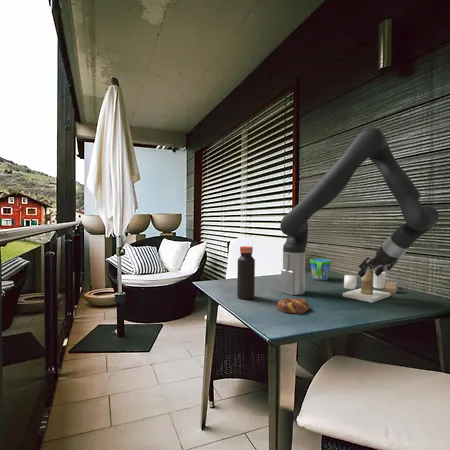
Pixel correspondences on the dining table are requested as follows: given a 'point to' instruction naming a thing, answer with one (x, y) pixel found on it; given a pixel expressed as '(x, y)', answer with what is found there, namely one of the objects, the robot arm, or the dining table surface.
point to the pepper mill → (367, 282)
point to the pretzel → (293, 305)
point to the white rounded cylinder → (350, 281)
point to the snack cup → (320, 269)
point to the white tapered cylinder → (379, 280)
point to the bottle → (246, 274)
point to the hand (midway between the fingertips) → (367, 274)
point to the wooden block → (391, 287)
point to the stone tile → (366, 295)
